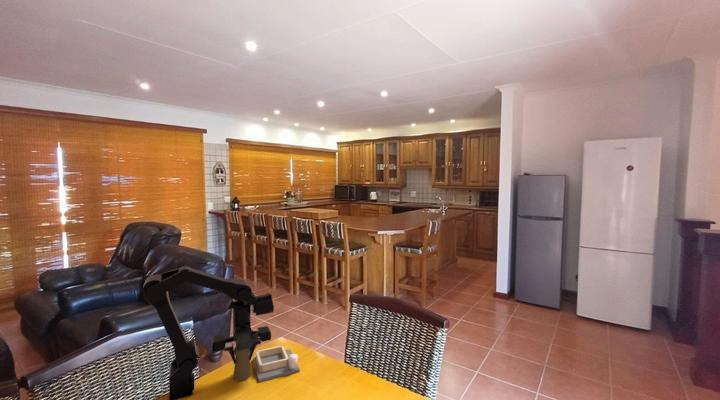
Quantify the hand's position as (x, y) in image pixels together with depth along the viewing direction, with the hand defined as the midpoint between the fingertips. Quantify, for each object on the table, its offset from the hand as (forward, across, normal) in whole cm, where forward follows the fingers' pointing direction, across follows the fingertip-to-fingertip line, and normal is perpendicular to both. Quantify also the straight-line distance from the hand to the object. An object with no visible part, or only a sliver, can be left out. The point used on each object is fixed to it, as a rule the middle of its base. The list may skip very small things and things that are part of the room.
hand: (242, 361), depth 111 cm
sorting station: (+5, +12, +1) cm, 13 cm away
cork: (+5, 0, 0) cm, 5 cm away
